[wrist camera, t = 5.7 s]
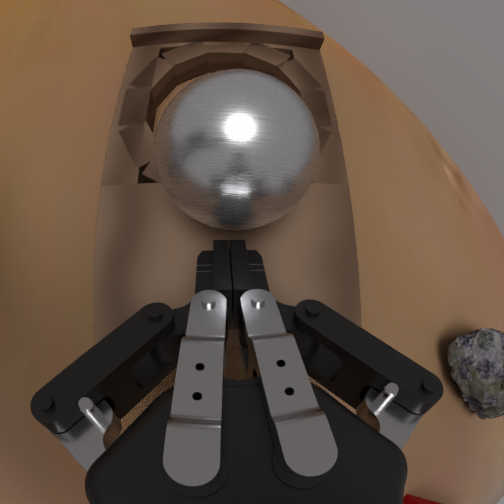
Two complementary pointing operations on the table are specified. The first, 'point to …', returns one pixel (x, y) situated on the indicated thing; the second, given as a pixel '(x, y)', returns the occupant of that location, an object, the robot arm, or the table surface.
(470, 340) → the mineral rock
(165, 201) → the wooden ball holder
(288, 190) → the steel ball
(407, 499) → the puzzle toy
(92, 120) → the table surface
